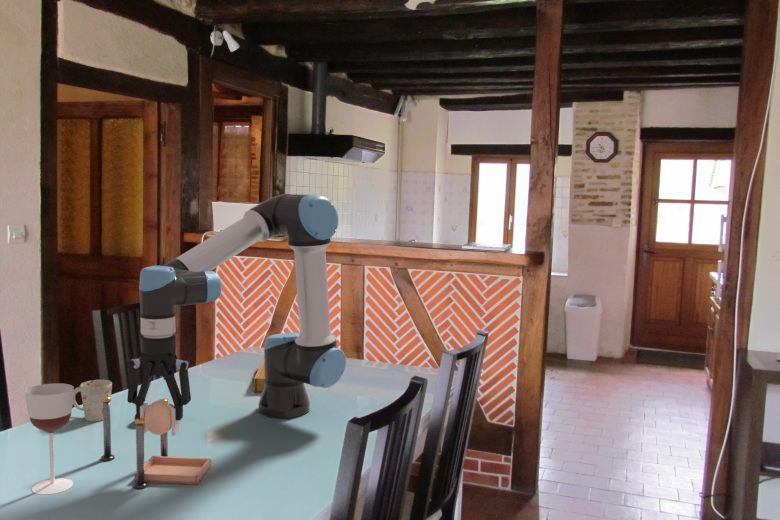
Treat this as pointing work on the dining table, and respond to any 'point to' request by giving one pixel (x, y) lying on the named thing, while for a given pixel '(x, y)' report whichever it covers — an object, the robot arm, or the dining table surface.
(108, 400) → the pole
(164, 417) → the egg
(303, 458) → the dining table surface
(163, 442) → the pole corner
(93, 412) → the mug
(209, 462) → the tray
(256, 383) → the tray
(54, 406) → the wineglass
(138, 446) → the pole
